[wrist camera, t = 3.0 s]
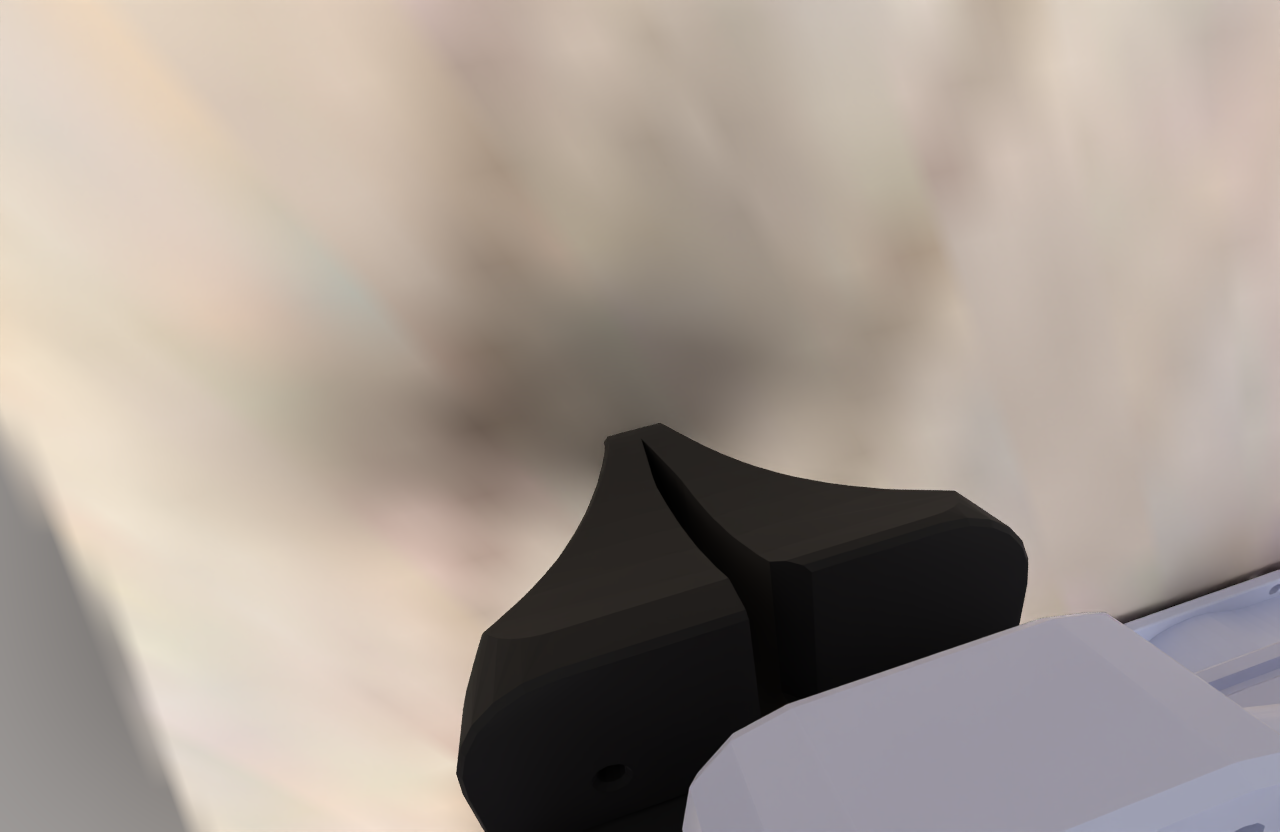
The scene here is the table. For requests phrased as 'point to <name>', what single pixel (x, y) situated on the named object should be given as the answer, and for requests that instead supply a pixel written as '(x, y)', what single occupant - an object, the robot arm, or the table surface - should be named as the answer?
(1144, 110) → the table surface
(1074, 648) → the robot arm
